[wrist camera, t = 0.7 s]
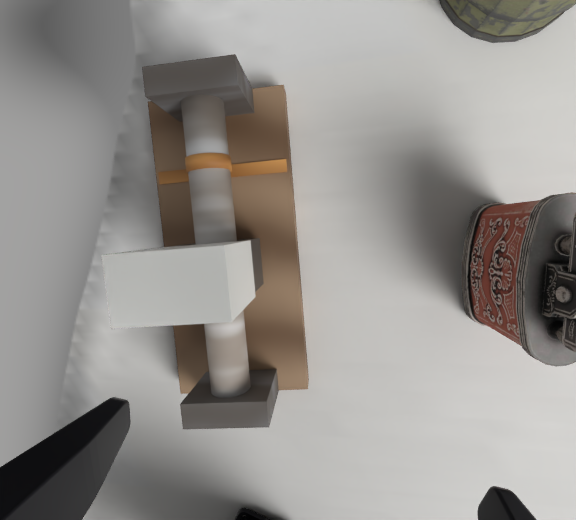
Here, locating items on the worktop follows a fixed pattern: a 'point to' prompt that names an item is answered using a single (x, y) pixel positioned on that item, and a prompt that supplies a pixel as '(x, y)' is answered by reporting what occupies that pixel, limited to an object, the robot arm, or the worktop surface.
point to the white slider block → (182, 283)
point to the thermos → (504, 17)
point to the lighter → (525, 274)
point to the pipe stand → (230, 232)
